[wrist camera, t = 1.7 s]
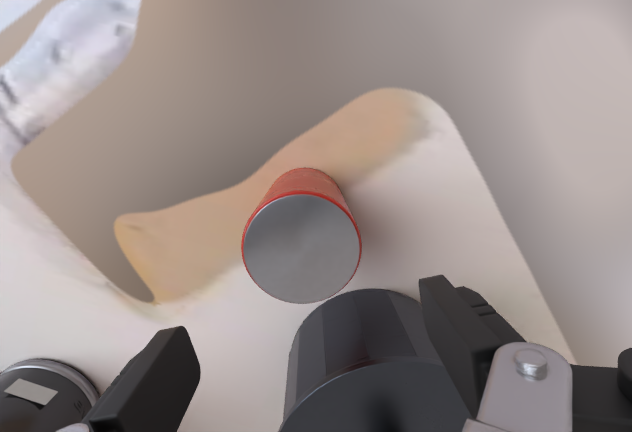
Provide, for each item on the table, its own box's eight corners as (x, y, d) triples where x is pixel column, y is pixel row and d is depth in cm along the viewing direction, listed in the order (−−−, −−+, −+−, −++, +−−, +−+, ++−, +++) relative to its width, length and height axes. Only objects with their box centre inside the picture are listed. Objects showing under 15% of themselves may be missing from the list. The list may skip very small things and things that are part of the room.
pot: (239, 382, 29) (209, 488, 21) (392, 233, 26) (433, 285, 17) (348, 460, 32) (363, 583, 23) (500, 334, 29) (584, 424, 20)
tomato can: (266, 241, 26) (241, 305, 16) (266, 166, 24) (238, 189, 15) (341, 243, 26) (358, 307, 17) (345, 168, 24) (366, 193, 15)
